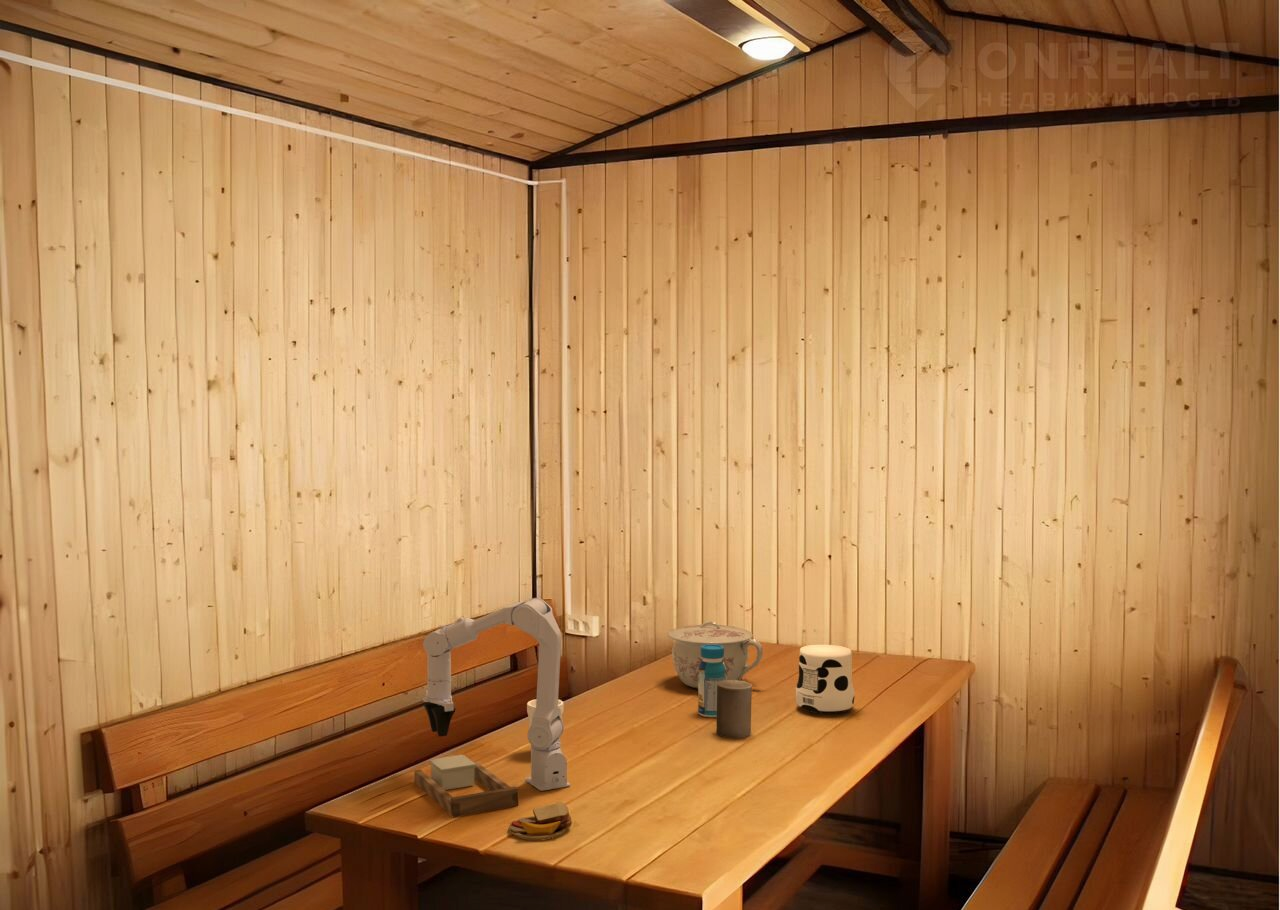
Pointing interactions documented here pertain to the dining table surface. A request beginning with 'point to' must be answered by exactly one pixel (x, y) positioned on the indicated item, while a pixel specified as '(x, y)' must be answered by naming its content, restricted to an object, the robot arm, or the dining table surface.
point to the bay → (471, 803)
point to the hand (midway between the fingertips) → (439, 733)
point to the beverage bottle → (710, 678)
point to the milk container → (825, 679)
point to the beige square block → (452, 771)
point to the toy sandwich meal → (542, 823)
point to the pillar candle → (734, 708)
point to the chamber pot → (729, 637)
